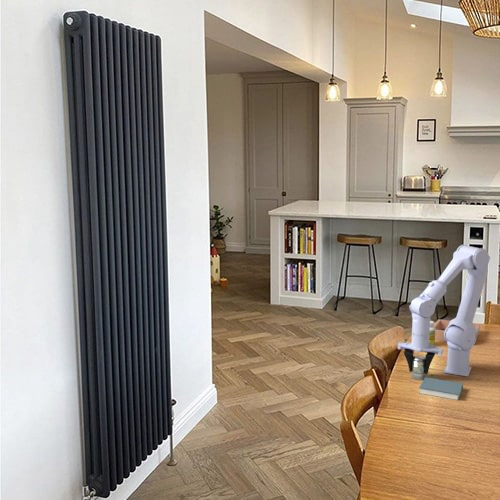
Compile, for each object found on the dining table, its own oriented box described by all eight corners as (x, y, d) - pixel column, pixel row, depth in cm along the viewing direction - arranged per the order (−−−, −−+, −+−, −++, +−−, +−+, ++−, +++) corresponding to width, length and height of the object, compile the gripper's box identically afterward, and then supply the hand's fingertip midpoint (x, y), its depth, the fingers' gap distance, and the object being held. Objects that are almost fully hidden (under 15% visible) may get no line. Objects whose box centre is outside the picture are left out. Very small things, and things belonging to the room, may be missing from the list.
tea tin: (412, 374, 214) (413, 354, 213) (426, 376, 212) (427, 356, 211) (410, 378, 210) (411, 358, 209) (423, 380, 208) (425, 360, 207)
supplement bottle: (426, 342, 250) (428, 319, 248) (437, 345, 245) (438, 322, 244) (417, 344, 247) (418, 321, 245) (428, 348, 242) (429, 324, 241)
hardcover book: (425, 383, 207) (425, 376, 206) (462, 390, 201) (463, 383, 201) (418, 394, 198) (419, 387, 197) (458, 401, 193) (458, 394, 192)
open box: (437, 328, 269) (438, 319, 268) (479, 333, 261) (480, 324, 260) (430, 339, 254) (430, 329, 253) (474, 345, 246) (474, 335, 245)
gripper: (396, 333, 208) (394, 372, 211) (440, 339, 202) (438, 379, 204) (401, 328, 215) (399, 365, 217) (444, 334, 208) (442, 372, 211)
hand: (418, 372), depth 211 cm, fingers closed on tea tin, 4 cm apart
